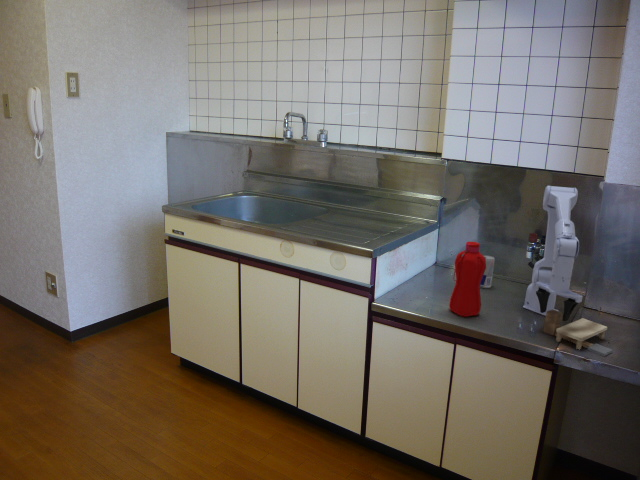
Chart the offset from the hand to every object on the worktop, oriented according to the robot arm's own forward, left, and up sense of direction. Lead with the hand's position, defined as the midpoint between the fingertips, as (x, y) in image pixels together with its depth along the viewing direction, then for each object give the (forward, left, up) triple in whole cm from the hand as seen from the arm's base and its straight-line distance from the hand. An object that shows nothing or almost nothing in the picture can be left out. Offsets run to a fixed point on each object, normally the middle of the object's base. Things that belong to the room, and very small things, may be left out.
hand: (553, 316), depth 174 cm
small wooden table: (+8, +3, -6) cm, 10 cm away
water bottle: (-26, -12, -6) cm, 29 cm away
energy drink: (-39, +18, -6) cm, 43 cm away
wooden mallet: (+6, 0, -6) cm, 8 cm away
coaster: (+16, 0, -6) cm, 17 cm away
